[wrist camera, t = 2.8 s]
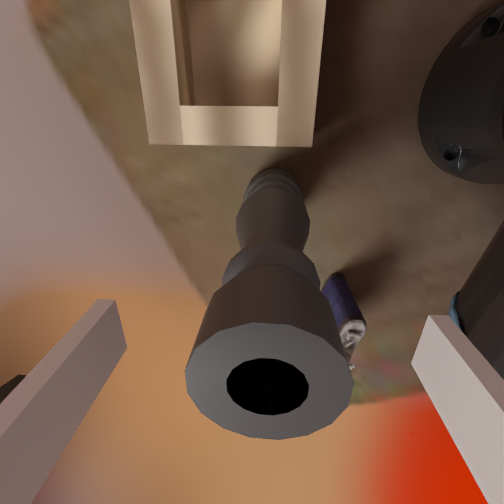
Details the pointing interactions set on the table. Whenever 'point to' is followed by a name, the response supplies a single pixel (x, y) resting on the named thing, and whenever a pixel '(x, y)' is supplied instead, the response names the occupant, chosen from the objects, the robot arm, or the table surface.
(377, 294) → the table surface
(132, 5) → the socket block
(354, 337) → the flask
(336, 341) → the candle holder
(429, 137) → the robot arm
